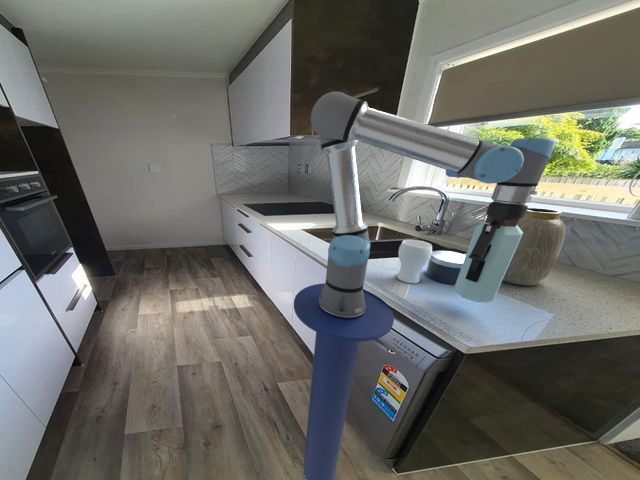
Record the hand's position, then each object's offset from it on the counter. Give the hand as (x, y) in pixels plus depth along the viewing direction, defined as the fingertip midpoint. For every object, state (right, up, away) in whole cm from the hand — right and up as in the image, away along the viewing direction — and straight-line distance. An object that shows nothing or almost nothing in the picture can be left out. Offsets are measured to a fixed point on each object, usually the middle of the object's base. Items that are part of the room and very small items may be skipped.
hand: (480, 276), depth 73 cm
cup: (-7, -3, +24) cm, 25 cm away
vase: (+34, -3, +23) cm, 41 cm away
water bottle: (0, -6, +3) cm, 7 cm away
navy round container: (+8, -2, +25) cm, 26 cm away
